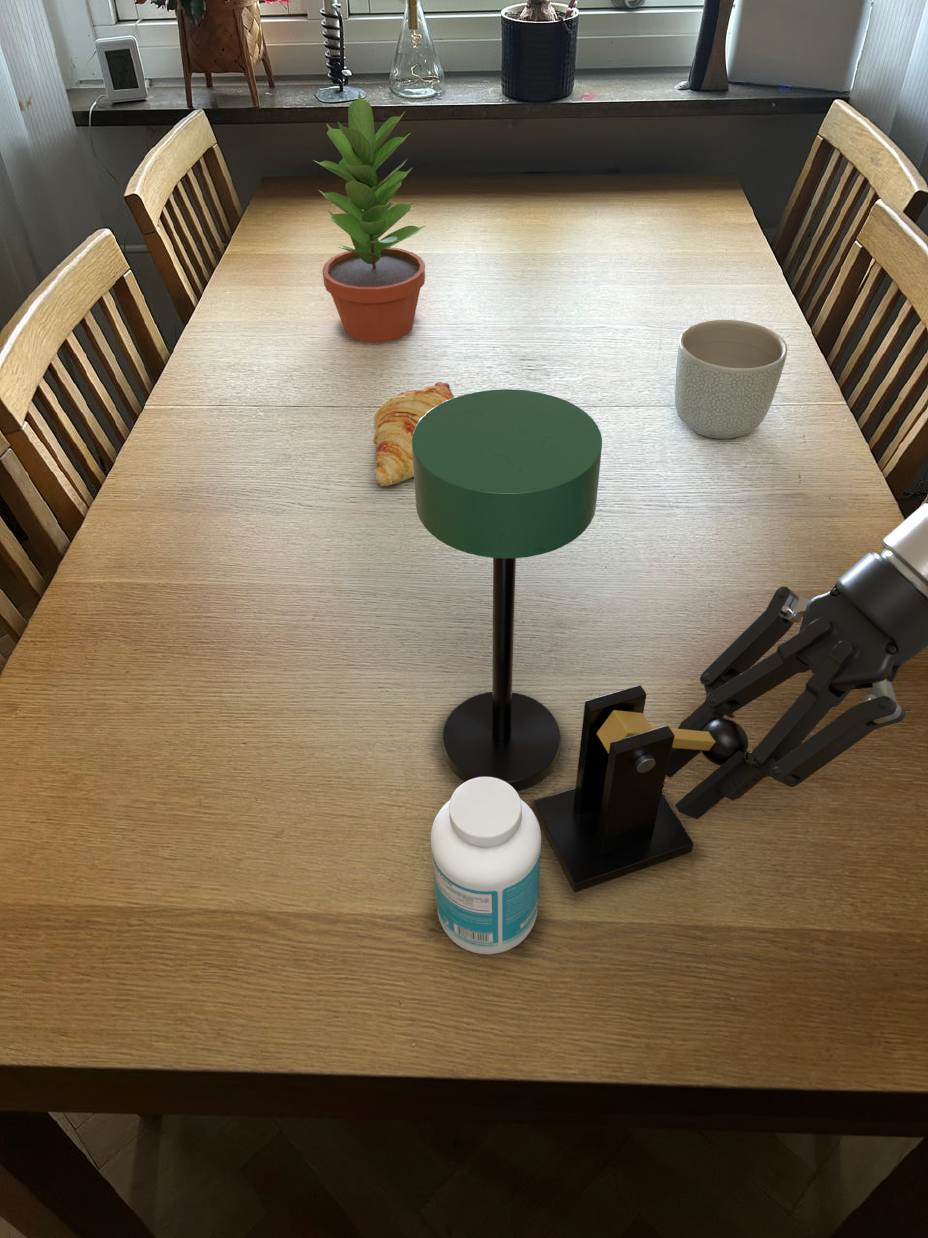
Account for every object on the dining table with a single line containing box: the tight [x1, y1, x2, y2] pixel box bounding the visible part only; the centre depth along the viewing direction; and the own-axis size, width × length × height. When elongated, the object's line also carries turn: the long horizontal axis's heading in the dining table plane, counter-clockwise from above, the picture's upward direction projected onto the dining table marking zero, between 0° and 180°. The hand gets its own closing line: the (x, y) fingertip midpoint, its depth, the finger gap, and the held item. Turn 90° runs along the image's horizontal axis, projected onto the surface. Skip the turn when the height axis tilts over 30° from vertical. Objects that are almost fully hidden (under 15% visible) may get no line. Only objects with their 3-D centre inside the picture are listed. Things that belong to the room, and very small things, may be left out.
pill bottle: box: [430, 777, 542, 955], centre depth 64 cm, size 8×7×14 cm
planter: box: [674, 319, 788, 440], centre depth 113 cm, size 12×12×11 cm
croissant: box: [373, 381, 455, 487], centre depth 112 cm, size 21×10×8 cm, turn 162°
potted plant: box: [312, 91, 427, 343], centre depth 126 cm, size 15×15×30 cm
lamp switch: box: [597, 710, 749, 767], centre depth 68 cm, size 13×4×4 cm, turn 110°
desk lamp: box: [412, 388, 603, 793], centre depth 69 cm, size 12×12×31 cm
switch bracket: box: [532, 684, 695, 893], centre depth 69 cm, size 10×8×14 cm
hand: (673, 790), depth 73 cm, fingers closed on lamp switch, 3 cm apart
